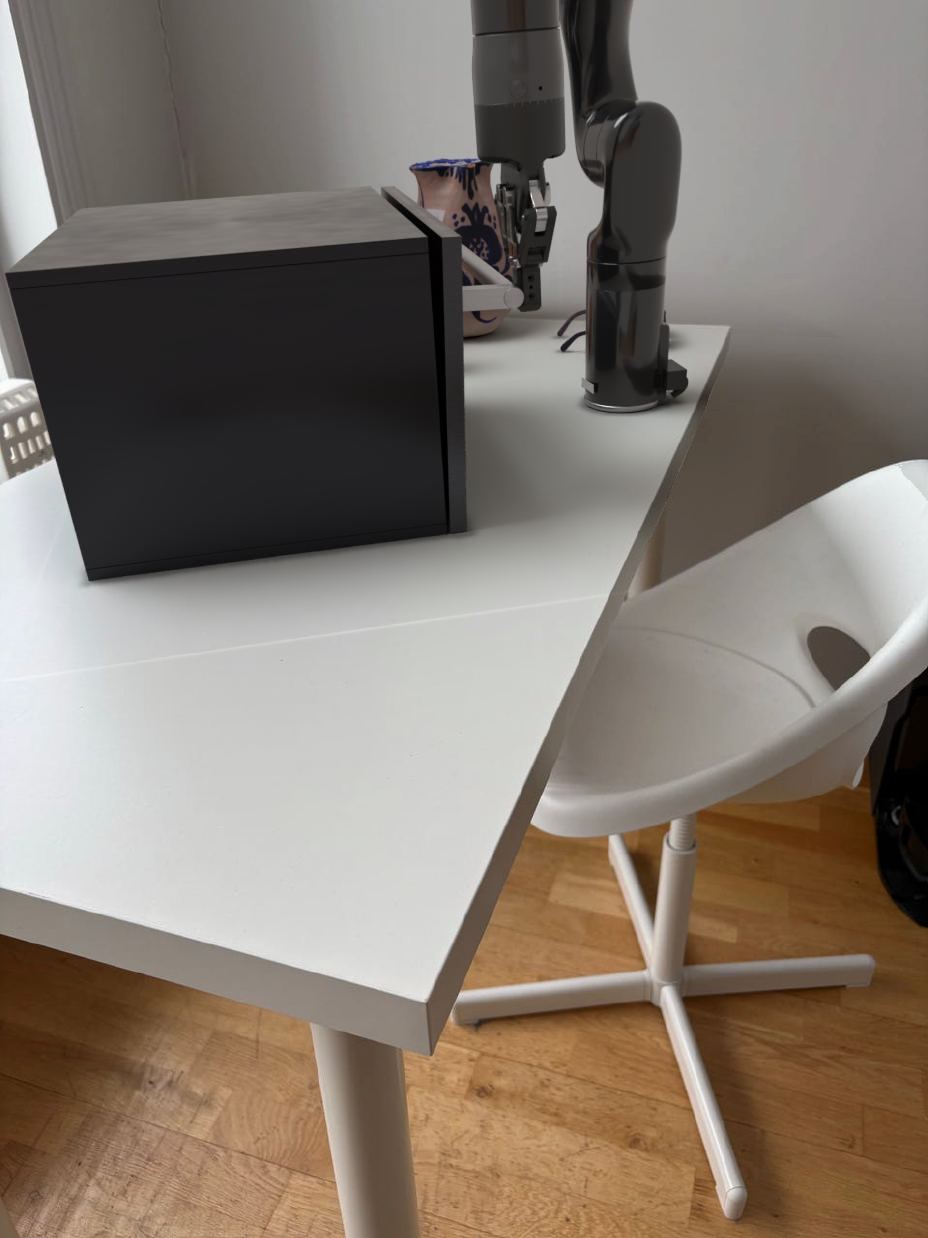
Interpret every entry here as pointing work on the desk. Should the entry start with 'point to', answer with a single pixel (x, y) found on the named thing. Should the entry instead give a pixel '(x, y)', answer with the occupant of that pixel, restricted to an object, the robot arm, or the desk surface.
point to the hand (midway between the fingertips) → (528, 309)
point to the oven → (236, 377)
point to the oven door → (453, 335)
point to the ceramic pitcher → (467, 222)
